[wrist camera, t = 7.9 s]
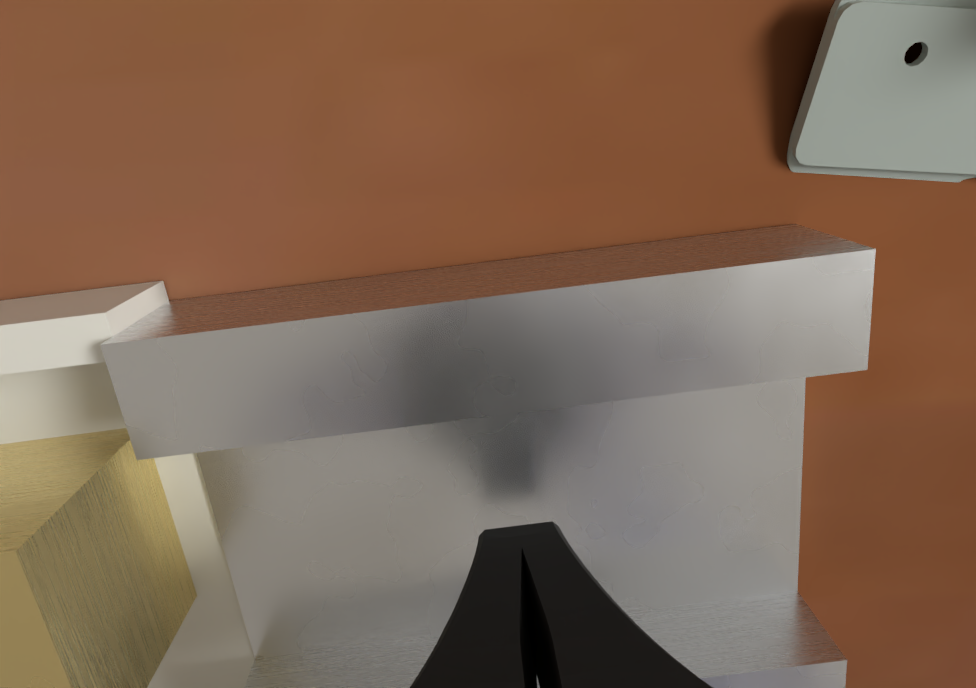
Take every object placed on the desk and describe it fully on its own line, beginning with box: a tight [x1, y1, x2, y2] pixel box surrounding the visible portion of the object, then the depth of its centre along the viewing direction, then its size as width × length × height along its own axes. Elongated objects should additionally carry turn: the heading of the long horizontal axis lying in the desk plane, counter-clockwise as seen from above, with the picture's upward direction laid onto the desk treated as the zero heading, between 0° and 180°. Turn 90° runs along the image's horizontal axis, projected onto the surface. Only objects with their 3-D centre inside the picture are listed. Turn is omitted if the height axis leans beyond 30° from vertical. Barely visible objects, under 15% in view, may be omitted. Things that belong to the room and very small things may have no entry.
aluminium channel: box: [100, 224, 876, 688], centre depth 13 cm, size 10×12×3 cm
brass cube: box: [0, 428, 197, 688], centre depth 12 cm, size 4×4×4 cm
